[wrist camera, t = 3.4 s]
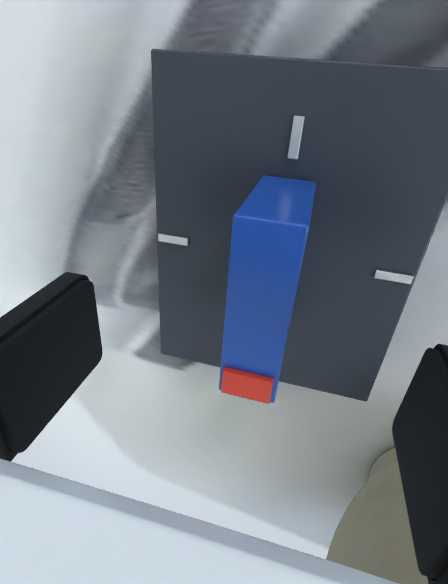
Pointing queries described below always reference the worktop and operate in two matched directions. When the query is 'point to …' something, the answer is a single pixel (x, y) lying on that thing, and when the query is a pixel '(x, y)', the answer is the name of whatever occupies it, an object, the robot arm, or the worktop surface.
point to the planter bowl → (378, 528)
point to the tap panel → (326, 205)
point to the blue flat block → (263, 284)
